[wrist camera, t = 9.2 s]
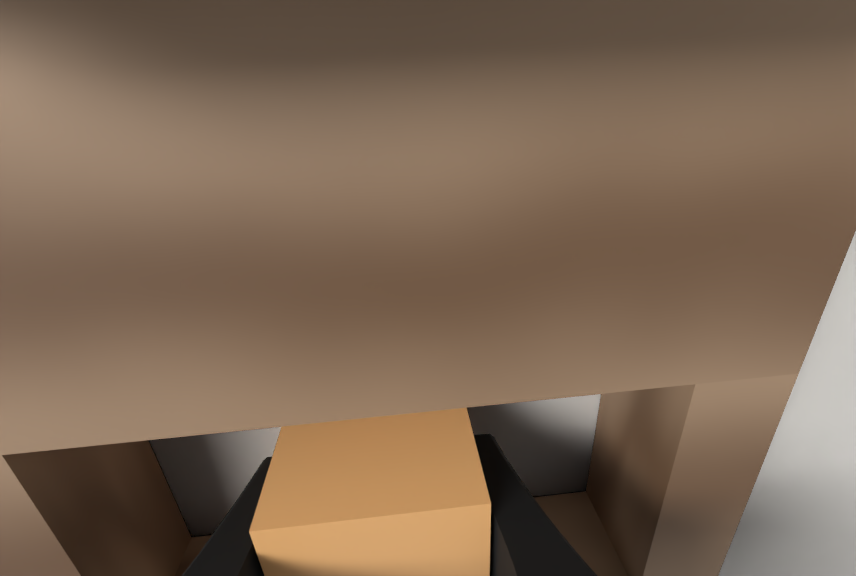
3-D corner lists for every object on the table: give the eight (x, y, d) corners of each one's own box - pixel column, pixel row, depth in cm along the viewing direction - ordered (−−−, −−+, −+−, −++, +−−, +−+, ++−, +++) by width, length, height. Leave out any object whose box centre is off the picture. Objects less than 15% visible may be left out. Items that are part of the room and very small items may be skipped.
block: (458, 476, 12) (488, 634, 9) (321, 491, 12) (294, 660, 9) (455, 364, 11) (490, 503, 7) (296, 379, 10) (249, 531, 7)
